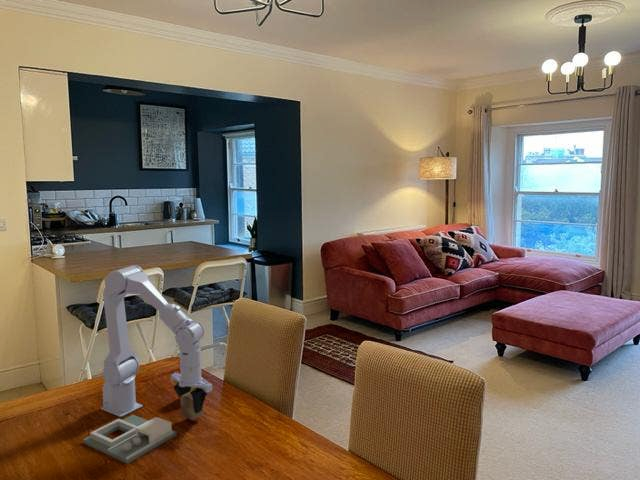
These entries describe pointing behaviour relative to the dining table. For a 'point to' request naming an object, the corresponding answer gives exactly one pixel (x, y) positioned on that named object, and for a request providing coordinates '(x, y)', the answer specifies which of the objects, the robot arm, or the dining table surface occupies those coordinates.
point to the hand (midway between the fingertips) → (192, 409)
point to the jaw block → (188, 407)
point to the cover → (154, 429)
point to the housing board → (124, 439)
